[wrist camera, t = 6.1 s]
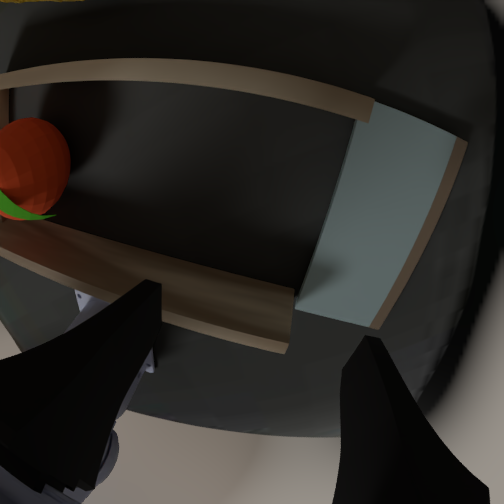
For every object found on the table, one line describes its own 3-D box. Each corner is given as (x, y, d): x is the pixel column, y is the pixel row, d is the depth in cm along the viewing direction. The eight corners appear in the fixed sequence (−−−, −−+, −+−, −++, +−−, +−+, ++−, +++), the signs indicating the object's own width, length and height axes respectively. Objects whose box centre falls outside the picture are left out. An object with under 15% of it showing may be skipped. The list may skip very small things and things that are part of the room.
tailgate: (295, 300, 21) (377, 321, 21) (294, 309, 20) (378, 329, 20) (361, 97, 13) (461, 139, 13) (363, 97, 13) (468, 142, 12)
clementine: (115, 149, 17) (38, 189, 11) (82, 220, 21) (22, 271, 15) (45, 92, 15) (-31, 114, 9) (22, 164, 19) (-40, 200, 13)
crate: (290, 299, 21) (284, 354, 17) (15, 219, 22) (-20, 245, 18) (354, 94, 13) (374, 99, 9) (5, 74, 14) (-41, 86, 10)
